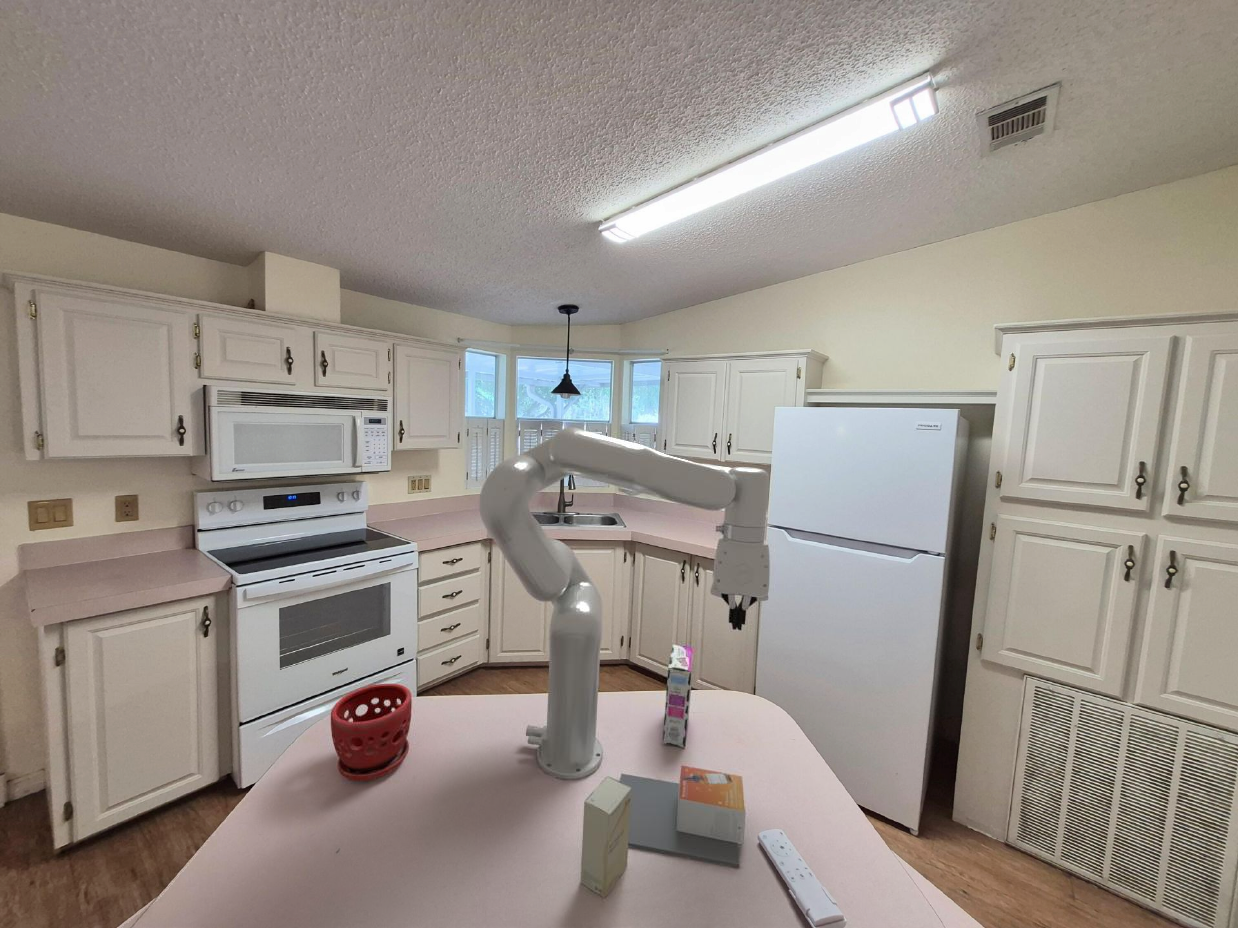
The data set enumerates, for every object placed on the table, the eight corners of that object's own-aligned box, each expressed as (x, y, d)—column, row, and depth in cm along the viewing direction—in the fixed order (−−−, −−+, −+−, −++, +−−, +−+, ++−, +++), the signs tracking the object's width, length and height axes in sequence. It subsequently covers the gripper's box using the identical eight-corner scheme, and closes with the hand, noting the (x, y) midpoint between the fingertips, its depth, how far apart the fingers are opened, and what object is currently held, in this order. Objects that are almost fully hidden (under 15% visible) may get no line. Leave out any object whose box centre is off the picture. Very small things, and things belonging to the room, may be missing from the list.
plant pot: (409, 732, 96) (410, 675, 95) (411, 777, 84) (413, 713, 83) (335, 748, 90) (335, 688, 89) (326, 799, 78) (326, 730, 77)
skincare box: (604, 899, 64) (609, 816, 63) (578, 881, 66) (582, 801, 65) (628, 864, 69) (633, 787, 68) (603, 848, 72) (607, 773, 71)
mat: (607, 842, 73) (607, 838, 73) (621, 776, 87) (621, 773, 87) (739, 867, 70) (739, 864, 70) (732, 795, 84) (732, 792, 83)
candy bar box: (686, 749, 95) (692, 671, 94) (661, 744, 96) (666, 667, 95) (689, 716, 106) (694, 646, 105) (667, 712, 107) (671, 643, 105)
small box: (746, 812, 72) (678, 799, 74) (743, 845, 73) (675, 832, 75) (742, 774, 80) (680, 763, 82) (739, 805, 81) (678, 793, 82)
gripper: (703, 533, 86) (697, 630, 88) (788, 541, 84) (780, 640, 85) (703, 525, 94) (696, 614, 95) (781, 532, 91) (773, 623, 93)
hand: (736, 626), depth 90 cm, fingers closed
